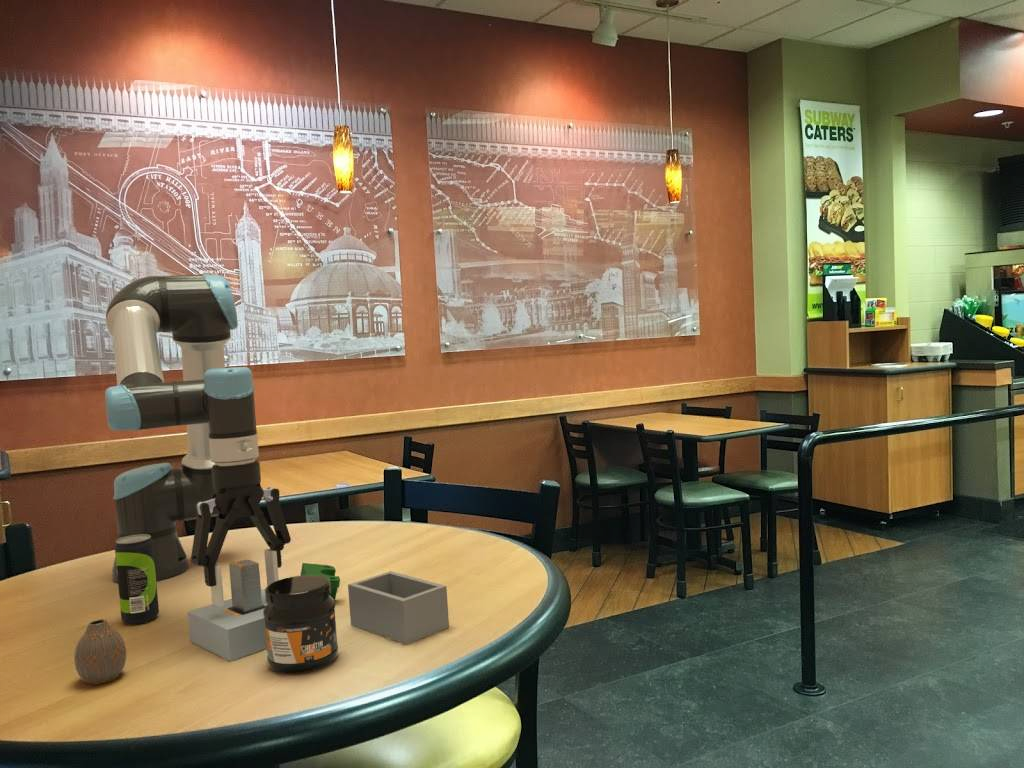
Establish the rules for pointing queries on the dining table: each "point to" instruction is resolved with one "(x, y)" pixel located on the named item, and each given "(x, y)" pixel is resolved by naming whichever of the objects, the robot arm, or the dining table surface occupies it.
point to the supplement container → (300, 624)
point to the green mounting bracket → (325, 572)
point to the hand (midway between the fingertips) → (246, 595)
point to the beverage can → (136, 579)
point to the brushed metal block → (245, 586)
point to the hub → (228, 630)
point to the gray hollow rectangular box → (398, 606)
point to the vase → (100, 653)
